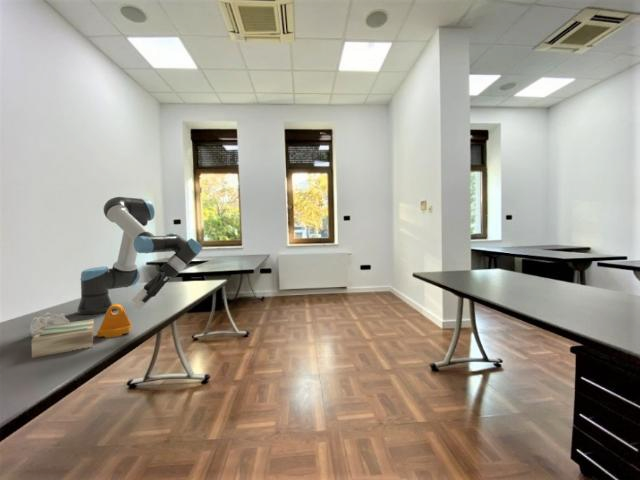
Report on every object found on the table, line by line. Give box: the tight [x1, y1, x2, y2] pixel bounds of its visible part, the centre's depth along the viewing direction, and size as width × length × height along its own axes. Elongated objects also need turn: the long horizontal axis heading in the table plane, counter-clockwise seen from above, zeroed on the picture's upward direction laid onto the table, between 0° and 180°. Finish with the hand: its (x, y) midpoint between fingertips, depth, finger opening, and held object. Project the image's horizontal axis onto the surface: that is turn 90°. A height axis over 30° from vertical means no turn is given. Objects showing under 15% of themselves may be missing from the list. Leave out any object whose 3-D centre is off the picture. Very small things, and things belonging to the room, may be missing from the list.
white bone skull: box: [29, 311, 70, 339], centre depth 122 cm, size 12×9×10 cm
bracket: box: [96, 303, 132, 338], centre depth 120 cm, size 11×7×12 cm, turn 117°
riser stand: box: [30, 318, 95, 359], centre depth 109 cm, size 18×16×6 cm
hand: (135, 304), depth 124 cm, fingers open, 13 cm apart
